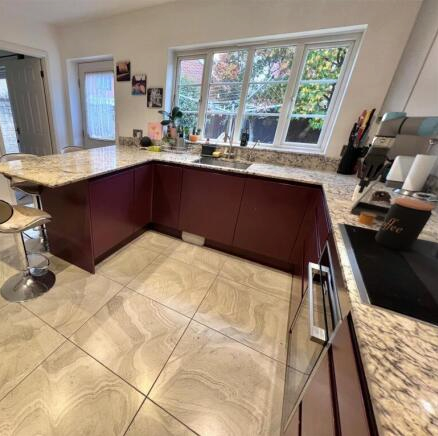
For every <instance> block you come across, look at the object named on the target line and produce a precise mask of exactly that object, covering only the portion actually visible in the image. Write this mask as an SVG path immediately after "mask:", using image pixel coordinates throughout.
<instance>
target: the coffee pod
mask: <svg viewBox="0 0 438 436" xmlns="http://www.w3.org/2000/svg"><path fill="white" fill-rule="evenodd" d="M375 217H377V215H375V214H373V213H369V212H361V215H360V216H359V217H358V219H357V222H358V223H360V224H363V225H365V226H372V225H373V223H374V221H375Z"/></svg>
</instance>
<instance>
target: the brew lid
mask: <svg viewBox="0 0 438 436" xmlns="http://www.w3.org/2000/svg"><path fill="white" fill-rule="evenodd" d="M381 178H382V174H381V175H380V176H379V177H378V178H377V179H376V180H375V181H372V183H371V184H369V187H368V188H367V189H366V190H365V191H364V193H363V194H362V195H361V196H360V197H359V198H358V199H357V200H356V202H354V203H353V205H352V206H351V209H352V208H354V207H355V206H356V205H357V204H358V203H359V202H360V201H361V199H362V198H363V197H364V196H365V195H366V194H367V193H368V192H369V191H370V190H371V189H372V188H373V187H374V188H375V186H376V185H377V184H378V183H379V182H380V179H381Z"/></svg>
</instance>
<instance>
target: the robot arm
mask: <svg viewBox="0 0 438 436" xmlns="http://www.w3.org/2000/svg"><path fill="white" fill-rule="evenodd" d="M407 114H408V113H407V112H406V111H387V112H385V113H384V114H383V115H382V119H381V120H380V122H379V125H378V127H377V130H376V133H375V134H374V137H373V139H372V142H371V146H369V149H368V151H367V153H366V155H364V157H361V158H358V159H357V163H358V167H357V176H356V177H357V179H359V180H360V181H359V182H358V184H359V186H361V187H360V190H359V192H358V193H362V192H363V190H364V188H365V187H368V186H370V183H371V182H374V181H375V180H376V179H377V178H378V177H379V176H380V175H382V173H384V171H385V170H386V169H387V168H388V167H390V166H391V165H392V162H390V161H388V155H389V153H390V151H391V147H392V146H393V145H394V143H395V140H396V138H397V136H398V135H400V136H402V135H403V136H411V137H422V138H424V137H425V138H428V137H429V138H430V137H434V136H437V135H438V116H437V117H432V116H431V117H424V116H423V117H422V116H421V117H419V116H418V117H416V116H407ZM364 161H365V164H366V166H365V169H364V172H363V174H362V171H363V163H364ZM380 165H383V166H382V167H381V169H380V170H379V171H378V172H377V173H376V174H375V172H376V170H377V168H378V167H379V166H380ZM371 166H373V167H372V169H371V172H370V173H369V176H368V179H366V177H367V174H368V172H369V170H370V168H371ZM374 175H375V176H374Z"/></svg>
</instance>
